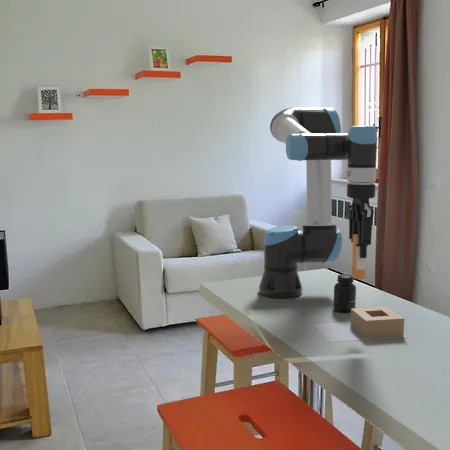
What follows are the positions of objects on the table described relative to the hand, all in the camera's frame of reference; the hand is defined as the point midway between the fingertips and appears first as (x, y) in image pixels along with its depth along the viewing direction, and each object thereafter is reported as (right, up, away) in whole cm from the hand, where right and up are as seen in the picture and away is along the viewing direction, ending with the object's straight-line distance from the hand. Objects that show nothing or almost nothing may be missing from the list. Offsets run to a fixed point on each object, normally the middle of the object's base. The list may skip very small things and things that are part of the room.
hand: (358, 267), depth 164 cm
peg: (0, -3, 0) cm, 3 cm away
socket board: (0, -19, +3) cm, 19 cm away
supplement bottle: (0, -16, +22) cm, 27 cm away
